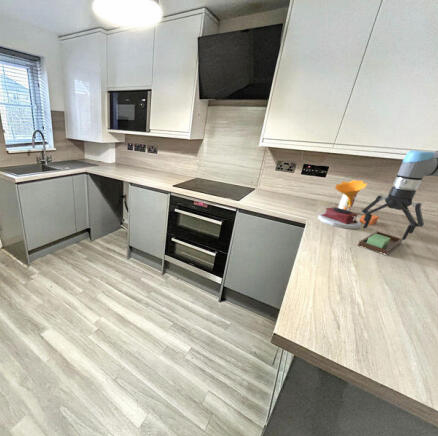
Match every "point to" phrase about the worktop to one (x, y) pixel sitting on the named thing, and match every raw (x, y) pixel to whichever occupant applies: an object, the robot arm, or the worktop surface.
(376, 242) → the pad
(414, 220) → the robot arm
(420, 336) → the worktop surface
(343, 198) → the aerosol can
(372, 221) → the pad
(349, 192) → the gramophone
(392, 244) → the frame
